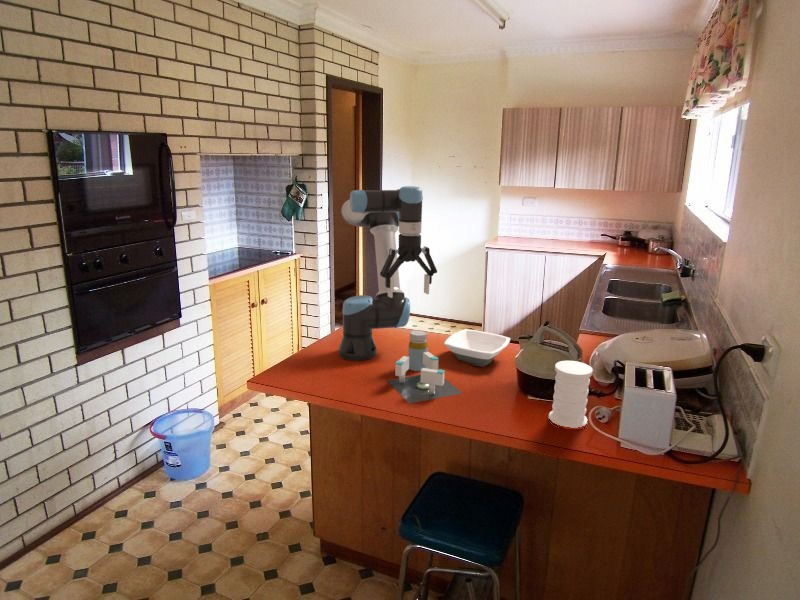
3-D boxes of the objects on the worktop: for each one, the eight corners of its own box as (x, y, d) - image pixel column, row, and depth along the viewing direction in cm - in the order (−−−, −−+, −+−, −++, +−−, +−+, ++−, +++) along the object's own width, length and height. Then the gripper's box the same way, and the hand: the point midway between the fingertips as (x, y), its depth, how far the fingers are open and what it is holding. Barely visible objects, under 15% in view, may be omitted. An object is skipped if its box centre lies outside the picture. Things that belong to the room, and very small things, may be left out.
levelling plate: (386, 383, 196) (386, 378, 196) (436, 375, 204) (436, 369, 204) (409, 406, 180) (409, 400, 179) (462, 396, 188) (463, 390, 187)
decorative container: (543, 423, 170) (549, 369, 165) (554, 408, 180) (560, 357, 175) (581, 434, 165) (588, 378, 160) (591, 418, 174) (598, 365, 169)
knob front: (420, 392, 186) (420, 369, 184) (422, 389, 188) (422, 366, 186) (441, 396, 184) (442, 372, 182) (443, 393, 186) (444, 370, 184)
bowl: (494, 376, 204) (495, 355, 202) (438, 363, 215) (439, 343, 212) (513, 357, 222) (515, 337, 220) (461, 346, 233) (462, 327, 231)
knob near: (402, 377, 198) (403, 355, 196) (408, 378, 198) (409, 356, 195) (395, 385, 191) (395, 362, 189) (401, 386, 191) (401, 363, 188)
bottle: (425, 374, 204) (426, 336, 200) (406, 373, 205) (407, 335, 201) (428, 367, 211) (429, 330, 207) (410, 365, 212) (410, 328, 208)
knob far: (422, 373, 202) (422, 351, 199) (427, 372, 203) (428, 350, 200) (432, 381, 195) (432, 359, 193) (437, 380, 196) (438, 358, 194)
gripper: (378, 237, 177) (378, 301, 183) (448, 234, 186) (445, 294, 192) (370, 233, 184) (370, 295, 190) (438, 230, 193) (436, 289, 199)
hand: (408, 295), depth 191 cm, fingers open, 13 cm apart
